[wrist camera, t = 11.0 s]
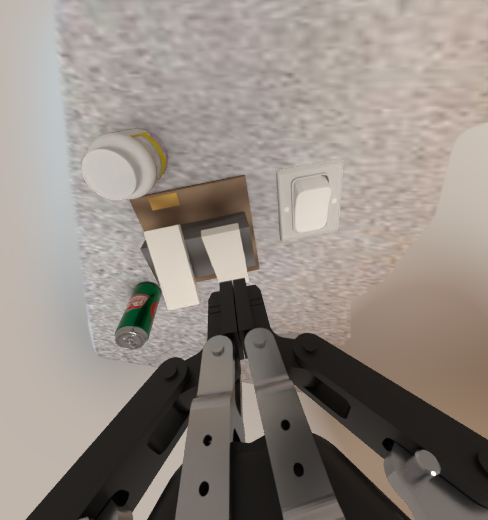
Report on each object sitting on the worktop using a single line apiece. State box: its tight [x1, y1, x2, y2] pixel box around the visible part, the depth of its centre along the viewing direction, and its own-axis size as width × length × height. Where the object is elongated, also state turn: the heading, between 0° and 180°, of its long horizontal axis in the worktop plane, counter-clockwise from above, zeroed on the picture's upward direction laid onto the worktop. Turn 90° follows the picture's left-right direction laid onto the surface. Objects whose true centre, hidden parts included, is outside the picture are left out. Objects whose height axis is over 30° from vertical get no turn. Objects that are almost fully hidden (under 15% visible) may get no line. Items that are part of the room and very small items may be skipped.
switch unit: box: [130, 175, 259, 285], centre depth 36 cm, size 18×18×7 cm
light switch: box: [276, 159, 343, 241], centre depth 37 cm, size 11×4×13 cm
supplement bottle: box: [81, 129, 167, 201], centre depth 25 cm, size 7×7×13 cm
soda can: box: [115, 283, 161, 350], centre depth 39 cm, size 5×5×12 cm
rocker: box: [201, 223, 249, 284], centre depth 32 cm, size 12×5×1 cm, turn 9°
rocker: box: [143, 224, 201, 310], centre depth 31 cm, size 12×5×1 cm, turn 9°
